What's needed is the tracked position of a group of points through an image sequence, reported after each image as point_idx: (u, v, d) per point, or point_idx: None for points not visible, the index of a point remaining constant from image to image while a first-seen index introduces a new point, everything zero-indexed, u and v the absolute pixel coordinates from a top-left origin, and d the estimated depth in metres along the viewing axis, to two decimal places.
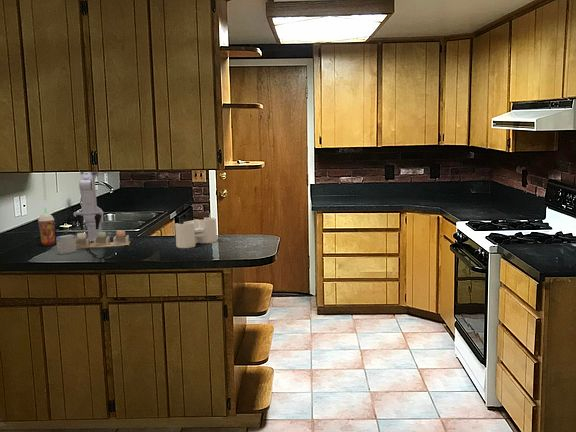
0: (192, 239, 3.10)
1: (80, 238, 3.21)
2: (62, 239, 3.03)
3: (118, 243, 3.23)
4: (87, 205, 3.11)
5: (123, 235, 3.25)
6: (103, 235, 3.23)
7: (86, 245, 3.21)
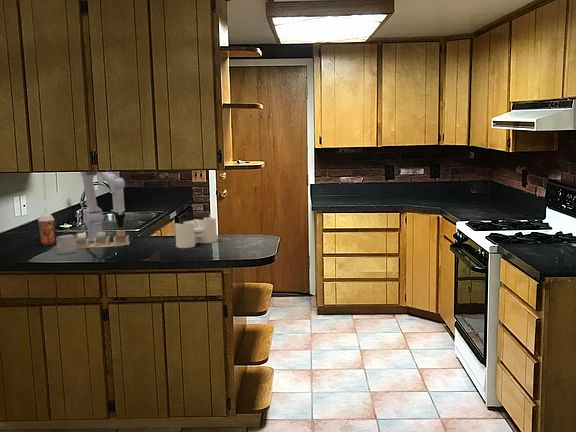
0: (192, 239, 3.11)
1: (80, 238, 3.21)
2: (62, 239, 3.03)
3: (118, 243, 3.23)
4: (113, 203, 3.23)
5: (123, 235, 3.25)
6: (103, 235, 3.23)
7: (86, 245, 3.21)
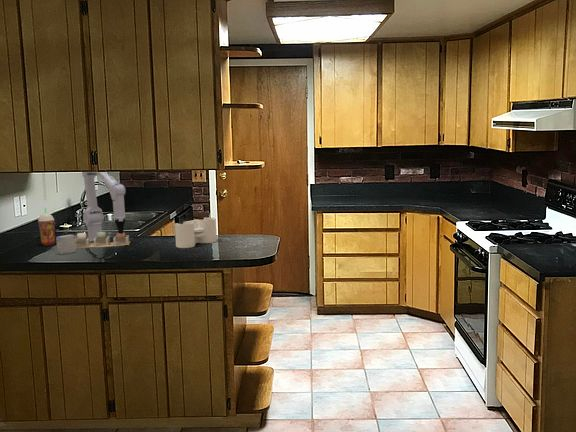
0: (192, 239, 3.11)
1: (80, 238, 3.21)
2: (62, 239, 3.03)
3: (118, 243, 3.23)
4: (113, 209, 3.23)
5: None
6: (103, 235, 3.23)
7: (86, 245, 3.21)
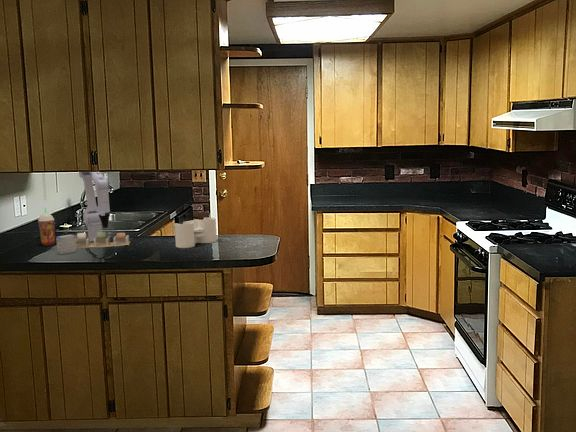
0: (191, 239, 3.11)
1: (80, 238, 3.21)
2: (62, 239, 3.03)
3: (118, 243, 3.23)
4: None
5: None
6: (103, 235, 3.23)
7: (86, 245, 3.21)
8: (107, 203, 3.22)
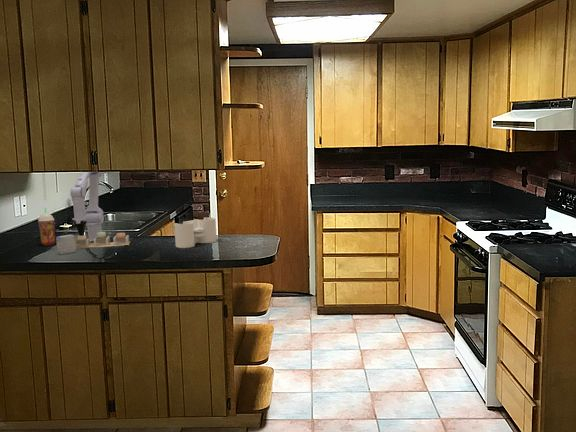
0: (191, 239, 3.11)
1: None
2: (62, 239, 3.03)
3: (118, 243, 3.23)
4: None
5: None
6: (103, 235, 3.23)
7: (86, 245, 3.21)
8: (83, 211, 3.20)
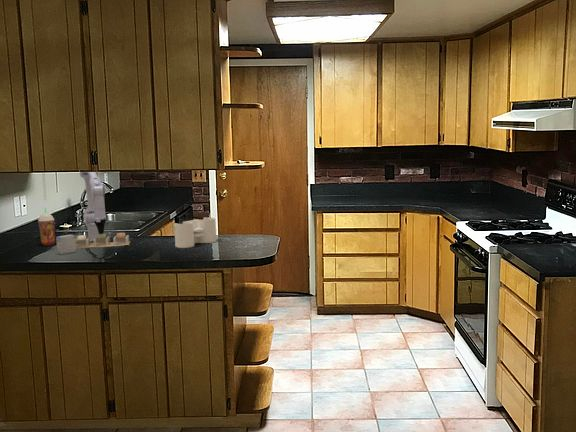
0: (191, 239, 3.11)
1: None
2: (62, 239, 3.03)
3: (118, 243, 3.23)
4: (93, 210, 3.22)
5: None
6: (103, 237, 3.23)
7: (86, 245, 3.21)
8: (103, 209, 3.22)
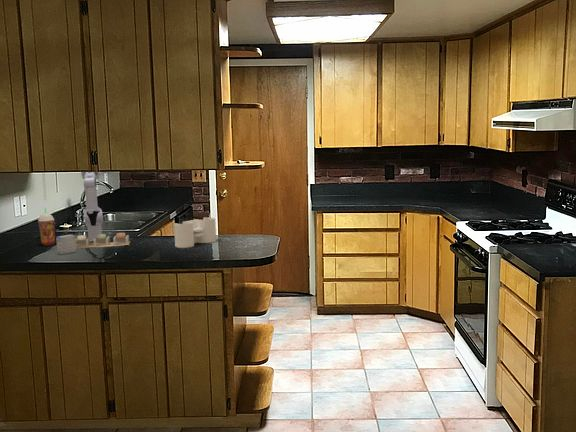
0: (191, 239, 3.11)
1: None
2: (62, 239, 3.03)
3: (118, 243, 3.23)
4: (86, 202, 3.24)
5: None
6: (103, 237, 3.23)
7: (86, 245, 3.21)
8: (95, 201, 3.23)
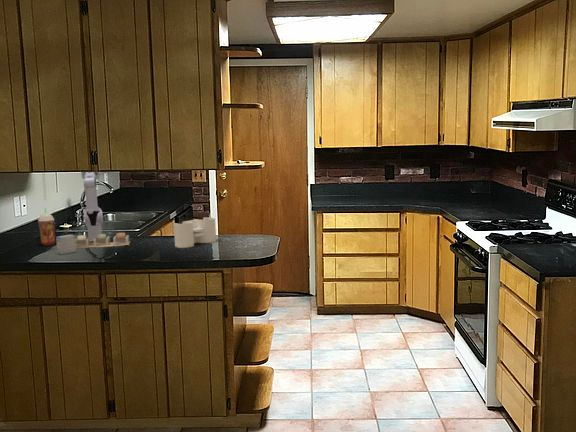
0: (190, 239, 3.11)
1: None
2: (62, 239, 3.03)
3: (118, 243, 3.23)
4: (86, 202, 3.24)
5: None
6: (103, 237, 3.23)
7: (86, 245, 3.21)
8: (95, 201, 3.23)
